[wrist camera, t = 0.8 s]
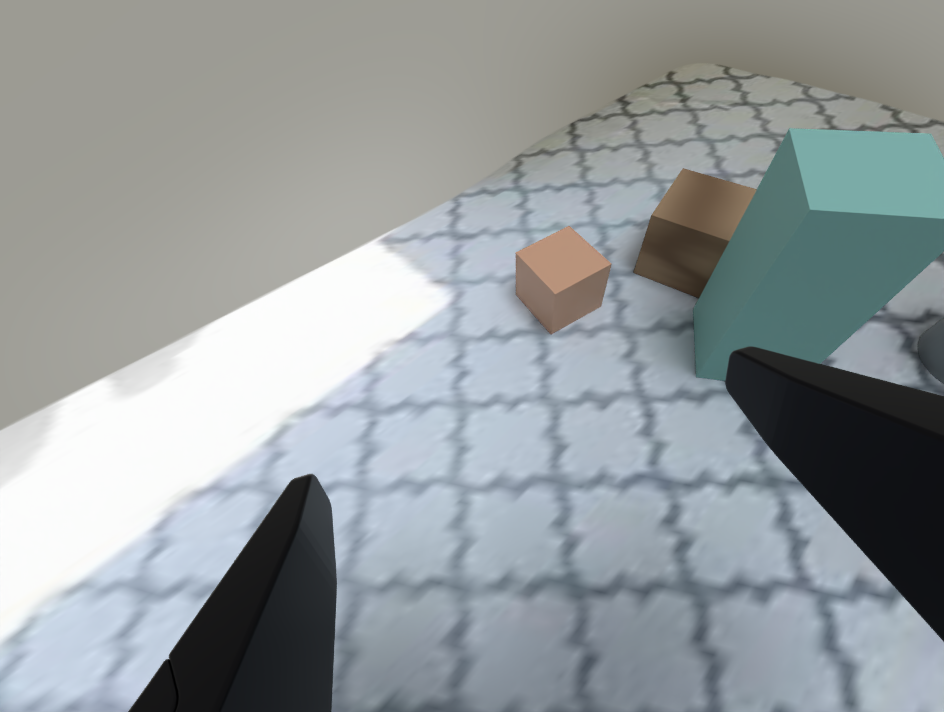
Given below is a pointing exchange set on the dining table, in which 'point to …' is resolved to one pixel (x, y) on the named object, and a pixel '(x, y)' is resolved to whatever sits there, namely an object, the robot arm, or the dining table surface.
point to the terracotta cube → (561, 278)
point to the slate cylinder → (933, 350)
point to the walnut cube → (691, 231)
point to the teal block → (822, 245)
